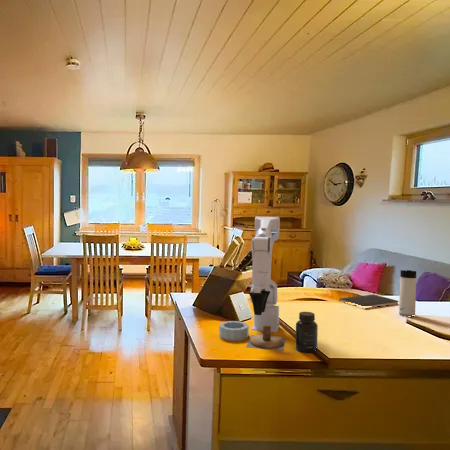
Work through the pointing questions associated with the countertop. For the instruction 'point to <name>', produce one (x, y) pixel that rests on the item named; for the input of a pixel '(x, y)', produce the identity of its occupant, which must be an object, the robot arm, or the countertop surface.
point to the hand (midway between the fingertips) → (259, 313)
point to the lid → (266, 339)
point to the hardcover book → (370, 300)
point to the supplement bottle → (306, 333)
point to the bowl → (233, 330)
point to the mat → (267, 348)
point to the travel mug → (407, 293)
